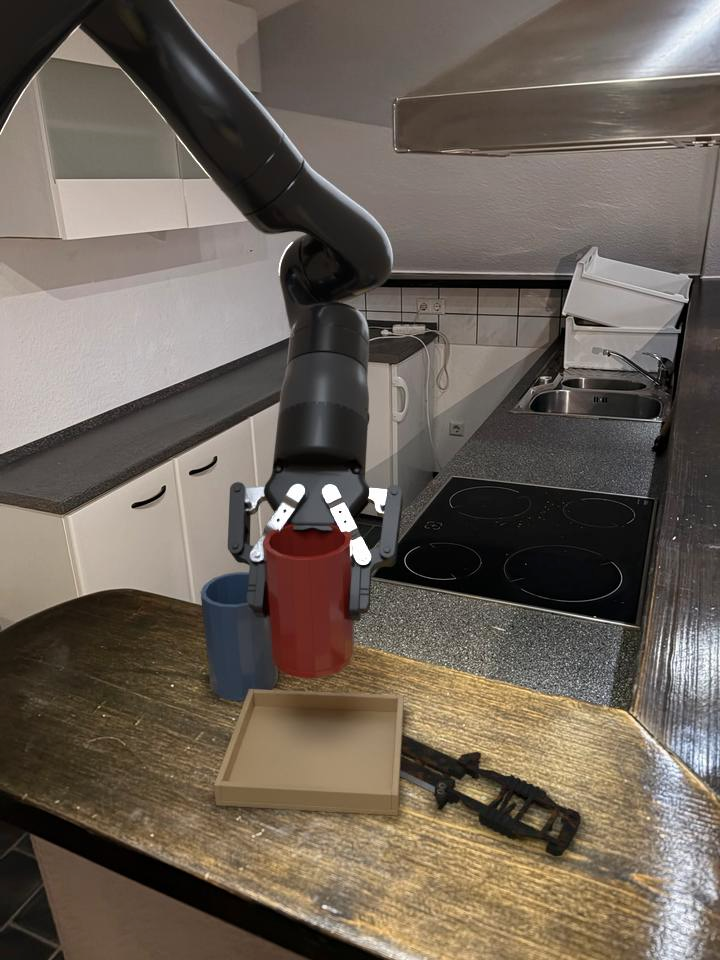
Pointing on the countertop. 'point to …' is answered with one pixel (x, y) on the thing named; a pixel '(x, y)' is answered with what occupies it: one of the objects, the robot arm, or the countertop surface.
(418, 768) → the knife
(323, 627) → the red spoon cup
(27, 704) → the countertop surface
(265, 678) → the blue spoon cup
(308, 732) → the tray
